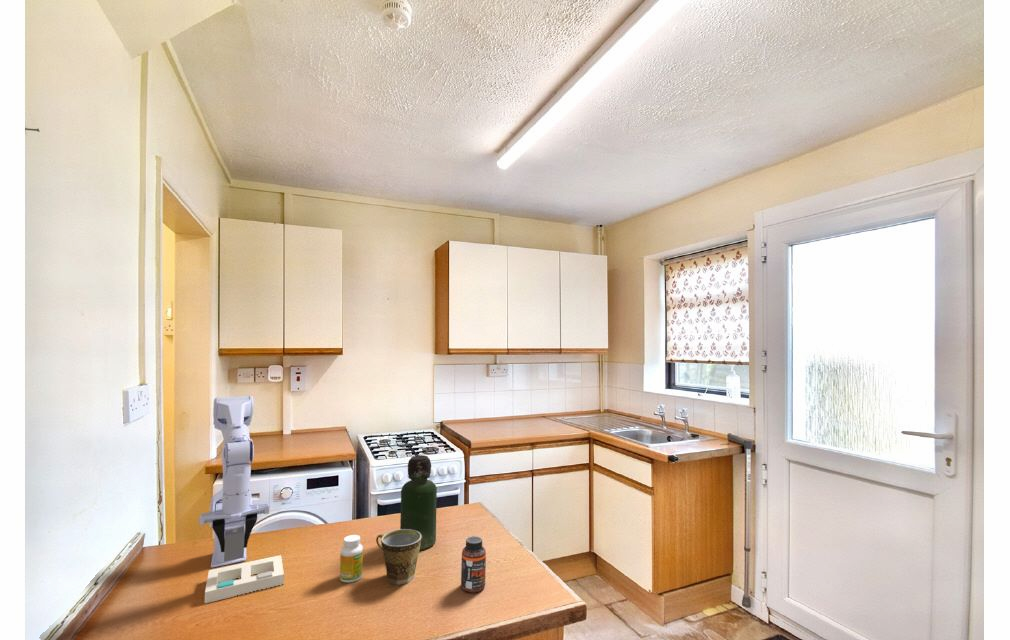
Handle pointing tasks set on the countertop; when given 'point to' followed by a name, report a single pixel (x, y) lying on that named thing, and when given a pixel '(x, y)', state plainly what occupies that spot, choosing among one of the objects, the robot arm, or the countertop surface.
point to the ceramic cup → (400, 554)
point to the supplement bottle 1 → (351, 559)
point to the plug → (234, 543)
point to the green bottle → (419, 501)
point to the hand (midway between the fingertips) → (234, 548)
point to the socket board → (243, 578)
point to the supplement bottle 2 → (473, 565)
